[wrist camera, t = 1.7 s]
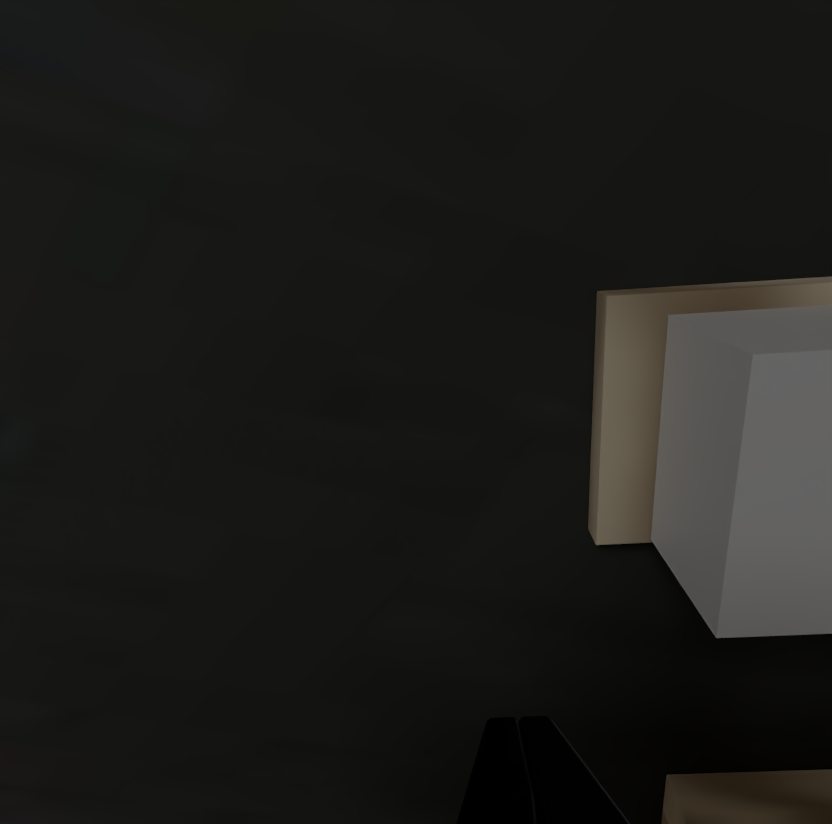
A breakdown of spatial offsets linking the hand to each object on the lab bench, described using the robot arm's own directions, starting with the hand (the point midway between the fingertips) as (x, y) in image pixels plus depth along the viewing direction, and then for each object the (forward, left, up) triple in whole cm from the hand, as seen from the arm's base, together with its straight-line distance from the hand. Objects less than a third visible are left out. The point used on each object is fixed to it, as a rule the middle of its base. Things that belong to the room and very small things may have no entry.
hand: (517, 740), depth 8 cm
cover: (+9, 0, -10) cm, 13 cm away
